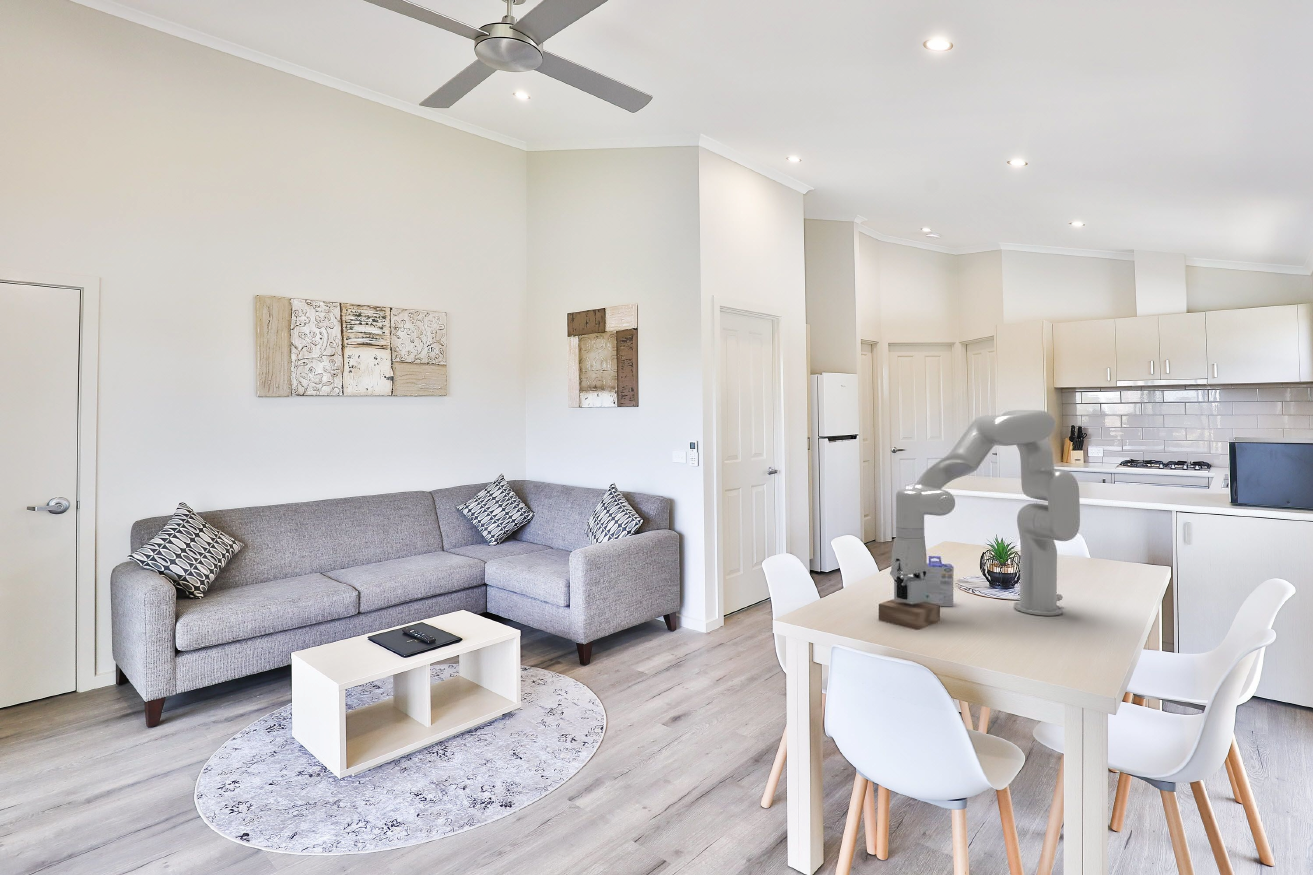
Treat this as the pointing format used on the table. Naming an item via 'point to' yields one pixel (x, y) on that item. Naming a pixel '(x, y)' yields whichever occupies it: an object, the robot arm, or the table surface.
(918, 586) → the grey block
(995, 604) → the table surface
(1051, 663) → the table surface
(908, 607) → the walnut block
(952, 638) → the table surface
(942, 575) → the ink cartridge box
